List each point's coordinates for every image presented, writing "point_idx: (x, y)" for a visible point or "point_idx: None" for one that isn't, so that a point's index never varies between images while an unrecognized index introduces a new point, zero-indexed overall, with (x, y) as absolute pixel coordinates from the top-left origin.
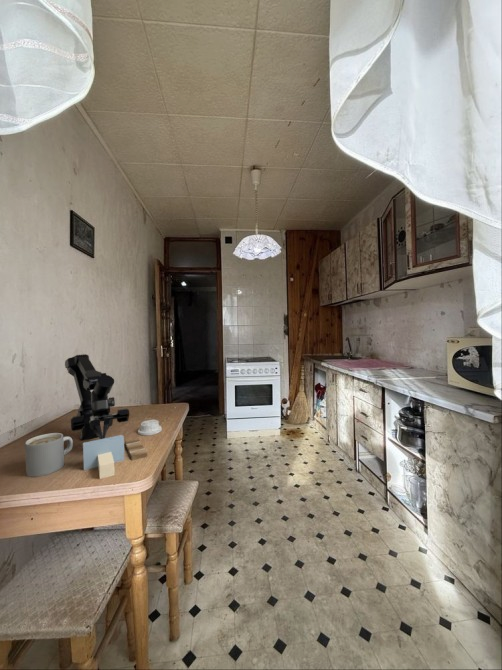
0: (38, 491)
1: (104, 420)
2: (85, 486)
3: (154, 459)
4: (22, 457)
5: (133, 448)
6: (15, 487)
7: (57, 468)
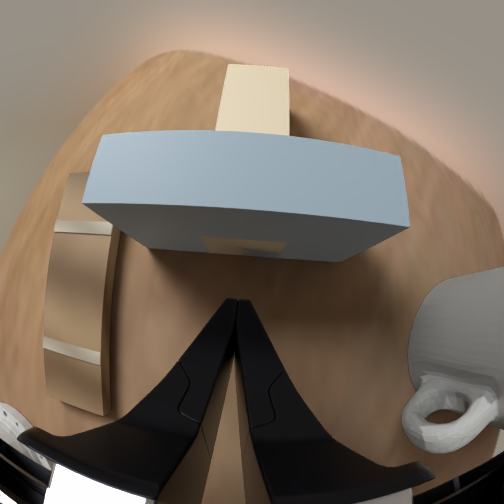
0: (445, 166)
1: (163, 469)
2: (326, 94)
3: (77, 139)
4: (469, 469)
5: (84, 272)
6: (494, 243)
7: (433, 293)
